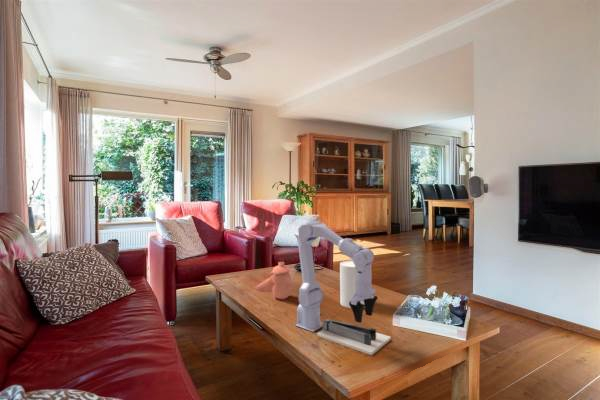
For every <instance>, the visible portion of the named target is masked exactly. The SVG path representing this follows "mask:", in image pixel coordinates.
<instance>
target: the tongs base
mask: <svg viewBox="0 0 600 400" xmlns="http://www.w3.org/2000/svg"><path fill="white" fill-rule="evenodd" d="M331 321H332V319H329V318H325V319H324V320H323V321H322V324H323V327H322V330H324V331H329V332H330V333H333V334H336V335H339V336H342V337H345V338H348V339H351V340H354V341H357V342H360V343H363V344H366V345H369V346H370V345H371V335H370V334H367V333H363V332H360V331H357V330H353V329H350V328H347V327H344V326H341V325H337V324H334V323H331Z"/></svg>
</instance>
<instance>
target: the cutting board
mask: <svg viewBox="0 0 600 400" xmlns="http://www.w3.org/2000/svg"><path fill="white" fill-rule="evenodd" d="M316 337H319V338H322V339H325V340H327V341H330V342H333V343H336V344H338V345H342V346H344V347H347V348H350V349H353V350H355V351H358V352H360V353H361V352H362V353H365V354H367V355H370V356H373V355H374V354H375V353H377V352H378V351H379V350H380V349H381V348H382V347H383V346H385V345H386V344H387V343H389V342H390V341H391V340H392V337H391V336H390V335H386V334H383V333H380V332H376V340H373V339H371V345H370V346H369V345H366V344H363V343H360V342H357V341H354V340H351V339H348V338H345V337H342V336H339V335H336V334H333V333H330V332H329V331H324V330H323V329H322V330H320V331H318V332H317V333H316Z"/></svg>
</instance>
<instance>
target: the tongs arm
mask: <svg viewBox="0 0 600 400" xmlns="http://www.w3.org/2000/svg"><path fill="white" fill-rule="evenodd" d="M331 320H332V319H331ZM331 323H334V324H337V325H341V326H344V327H347V328H350V329H353V330H357V331H360V332H363V333H367V334H370V335H371V339H373V340H376V333H377V329H376V328H373V327H372V328H371V327H367V326H362V325H357V324H354V323H347V322H345V321H339V320H334V319H333V320H332V321H331Z"/></svg>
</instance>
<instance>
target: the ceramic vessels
mask: <svg viewBox="0 0 600 400" xmlns="http://www.w3.org/2000/svg"><path fill="white" fill-rule="evenodd" d="M277 263H278V265H276V266H274V267H273V268H272V270H271V272H270V274H271V275H270V277H269V278H268V277H267V278H266V279H265V280H264V281H261V282H260V283H258V284H257V285H255V287H254V289H255V290H256V291H257V292H260V293H265V292H268V293H269V292H273V293H272V295H273V297H275V298H277V299H278V300H286V299H288V297H289V296H290V295H291V294H292V286H291V284H289V283H291V280H292V276H291V274H290V271H291V268H290V266H287V265H285V262H284V261H279V262H277ZM269 294H270V293H269Z"/></svg>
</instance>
